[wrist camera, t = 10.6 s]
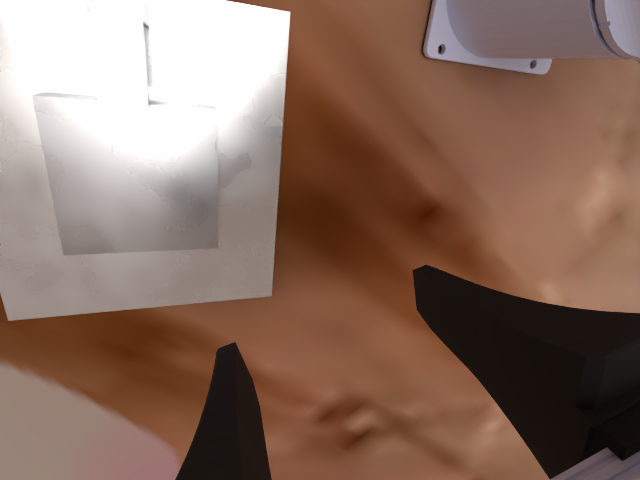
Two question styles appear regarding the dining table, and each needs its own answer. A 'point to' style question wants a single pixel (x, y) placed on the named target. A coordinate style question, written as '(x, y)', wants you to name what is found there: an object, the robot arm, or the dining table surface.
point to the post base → (172, 72)
